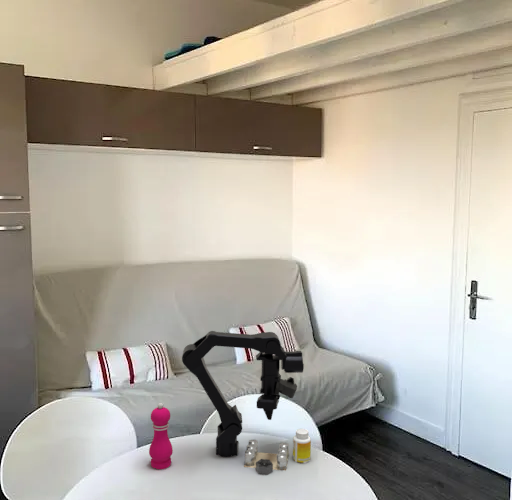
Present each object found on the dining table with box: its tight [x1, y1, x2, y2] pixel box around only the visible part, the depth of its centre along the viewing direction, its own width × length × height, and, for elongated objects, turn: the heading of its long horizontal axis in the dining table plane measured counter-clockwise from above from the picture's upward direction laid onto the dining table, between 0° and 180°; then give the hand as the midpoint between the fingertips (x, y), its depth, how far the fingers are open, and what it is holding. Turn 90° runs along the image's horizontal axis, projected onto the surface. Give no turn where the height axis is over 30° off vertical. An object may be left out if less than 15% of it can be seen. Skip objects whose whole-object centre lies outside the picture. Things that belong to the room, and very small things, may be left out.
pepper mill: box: [148, 402, 174, 470], centre depth 179 cm, size 7×7×20 cm
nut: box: [255, 459, 274, 476], centre depth 175 cm, size 5×4×3 cm
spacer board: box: [243, 451, 287, 472], centre depth 179 cm, size 13×14×1 cm
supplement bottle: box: [292, 428, 312, 464], centre depth 182 cm, size 6×6×10 cm
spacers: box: [244, 439, 290, 471], centre depth 181 cm, size 13×10×4 cm
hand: (269, 419), depth 186 cm, fingers closed
